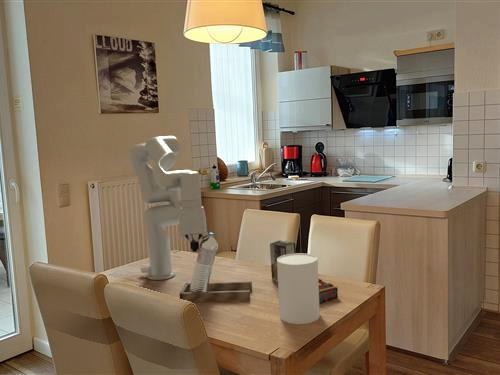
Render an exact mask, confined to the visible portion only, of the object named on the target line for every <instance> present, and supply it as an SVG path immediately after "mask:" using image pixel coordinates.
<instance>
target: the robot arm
mask: <svg viewBox="0 0 500 375" xmlns="http://www.w3.org/2000/svg"><path fill="white" fill-rule="evenodd" d="M180 149H181V146H180V142H179V140H178V138H177V137H176V136H174V135H165V136H164V135H163V136H162V135H161V136H153V137H152V136H151V137H150V138H148V139H147V140H146V142H144V143H143V142H142V143H137V144H134V145H132V146H131V147H130V149H129V152H128V153H129V155H128V157H129V163H130V165H131V167H132V169H133V171H134V172H135V175H136V178H137V182H138V186H139V189H140V195H141V197H142V200H143V203H144V204H146V205H154V206H151V207H148V208H146V209H145V211H144V212H143V213H142V214H143V215H142V216H143V221H144V226H145V231H146V236H147V248H148V259H149V260H148V261H149V266H147V267H140V272H142V273H143V274H145V273H147V274H146V278H147V279H149V280H152V281H161V280H162V281H163V280H168V279H171V278H173V277H175V276H176V271H175V270H174V269H172V268H173V267H172V257H171V256H172V255H171V254H172V253H171V244H170V236H169V234H168V232H167V231H166V230H165V229H164V228H166V227H171V226H177V225H178V227H179V228H178V230H179V236H180V237H181V238H186V239H187V241H189V242H190V243H189V246H190V250H192V253H197V252H199V248H200V242H199V240H200V239H202V238H203V237H208V236H209V232H208V223H207V217H206V211H205V207H204V206H203V202H202V192H201V191H202V190H201V187H202V186H201V177H200V173H199V172H198V171H193V170H191V169H182V170H181V169H179V170H171V171H170V169H172V168H173V167H174V165H175V164H176V162H177V155H178V154H179V153H180ZM151 162H152V163H154V166H153V167H152V166H151V165H149V164H148V163H151ZM179 190H180V196H179V192H178V191H179ZM180 197H181V200H180ZM164 203H166V204H164ZM156 204H157V205H156ZM158 204H160V205H158ZM161 204H162V205H161ZM155 205H156V206H155ZM194 235H195V236H194Z"/></svg>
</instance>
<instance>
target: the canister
mask: <svg viewBox="0 0 500 375" xmlns="http://www.w3.org/2000/svg"><path fill="white" fill-rule="evenodd" d="M277 271H278V282H277V286H278V287H277V288H278V290H277V291H278V306H279V307H278V308H279V309H278V310H279V318H280V320H281V321H283V322H285V323H288V324H293V325H303V324H311V323H314V322H316V321H318V320H319V319H320V317H321V316H320V304H319V284H318V279H319V262H318V257H317V256H316V255H314V254H310V253H303V252H302V253H301V252H299V253H297V252H296V253H295V254H287V255H283V256H280V257H278V258H277Z"/></svg>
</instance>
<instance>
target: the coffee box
mask: <svg viewBox="0 0 500 375" xmlns="http://www.w3.org/2000/svg"><path fill="white" fill-rule="evenodd" d="M269 252H270V253H269V254H270V266H271V267H270V268H271V270H270V271H271V281H272V282H277V283H278V271H277V258H278V257H280V256H283V255H287V254H295V253H297V250H296V242H292V241H285V240H276V241H274V242H271V243H269Z"/></svg>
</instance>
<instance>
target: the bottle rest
mask: <svg viewBox="0 0 500 375" xmlns="http://www.w3.org/2000/svg"><path fill="white" fill-rule="evenodd" d="M190 285H191V282H188V283H187V282H186V283H185V284H184V285H183V287H182V289H181V290H180V292H179V300H180V299H183V300H187V301H191V302H190V303H206V302H210V303H211V302H216V303H217V302H236V301H237V302H242V301H243V302H246V301H251V291H253V281H252V280H248V281H247V280H246V281H245V280H244V281H221V282H220V281H219V282H217V281H216V282H215V281H214V282H213V281H212V282H209V285H208V290H207V292H189V290H190Z"/></svg>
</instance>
